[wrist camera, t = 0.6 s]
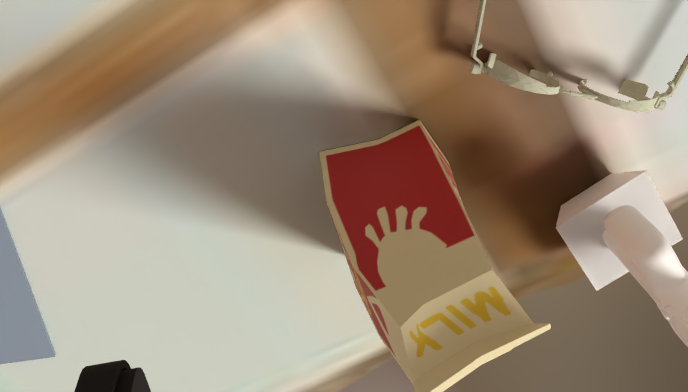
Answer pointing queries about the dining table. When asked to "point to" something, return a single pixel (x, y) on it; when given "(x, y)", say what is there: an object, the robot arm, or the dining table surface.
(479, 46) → the sunglasses
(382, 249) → the milk carton
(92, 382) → the robot arm
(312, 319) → the dining table surface
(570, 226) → the figurine
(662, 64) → the dining table surface
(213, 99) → the dining table surface
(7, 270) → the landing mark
